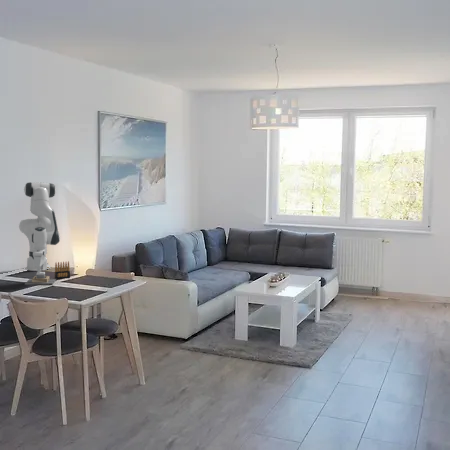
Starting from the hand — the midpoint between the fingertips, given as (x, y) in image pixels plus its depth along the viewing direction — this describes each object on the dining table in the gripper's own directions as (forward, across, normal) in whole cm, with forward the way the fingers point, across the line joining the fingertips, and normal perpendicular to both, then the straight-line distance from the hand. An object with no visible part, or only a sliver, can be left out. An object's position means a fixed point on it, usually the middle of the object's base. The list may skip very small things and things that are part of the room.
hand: (40, 271), depth 405 cm
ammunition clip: (+8, -15, +12) cm, 21 cm away
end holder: (+8, 0, 0) cm, 8 cm away
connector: (+7, 0, 0) cm, 7 cm away
